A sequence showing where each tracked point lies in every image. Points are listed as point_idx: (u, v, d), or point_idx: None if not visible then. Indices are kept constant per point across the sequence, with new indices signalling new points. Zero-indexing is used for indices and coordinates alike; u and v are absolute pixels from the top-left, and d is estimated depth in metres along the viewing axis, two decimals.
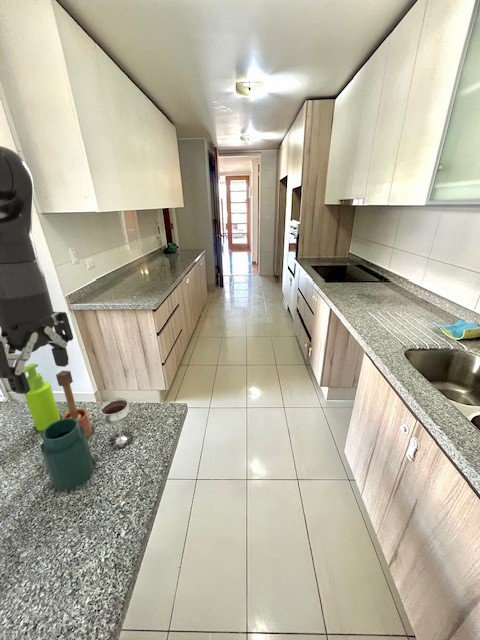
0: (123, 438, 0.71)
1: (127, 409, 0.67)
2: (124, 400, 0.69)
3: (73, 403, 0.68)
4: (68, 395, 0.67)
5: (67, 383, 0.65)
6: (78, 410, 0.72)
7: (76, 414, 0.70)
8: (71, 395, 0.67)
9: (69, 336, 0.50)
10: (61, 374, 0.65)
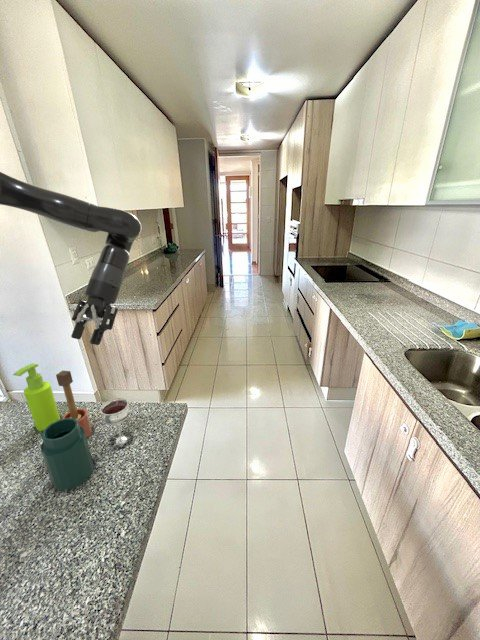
0: (123, 438, 0.71)
1: (127, 409, 0.67)
2: (124, 400, 0.69)
3: (73, 403, 0.68)
4: (68, 395, 0.67)
5: (67, 383, 0.65)
6: (78, 410, 0.72)
7: (76, 414, 0.70)
8: (71, 395, 0.67)
9: None
10: (61, 374, 0.65)
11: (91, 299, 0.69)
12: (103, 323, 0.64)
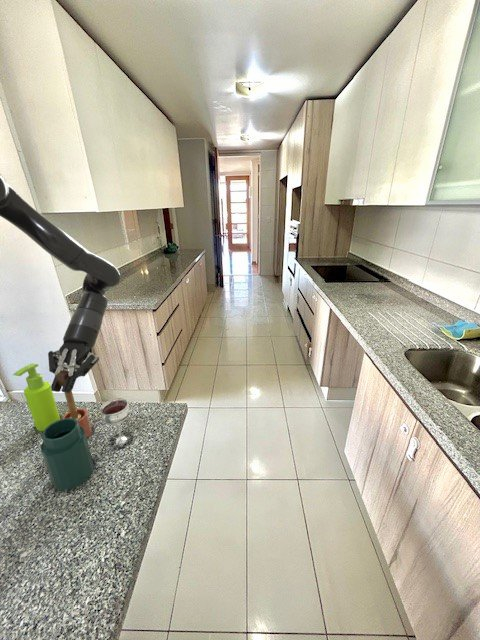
0: (123, 438, 0.71)
1: (127, 409, 0.67)
2: (124, 400, 0.69)
3: (73, 403, 0.68)
4: (68, 395, 0.67)
5: None
6: (78, 410, 0.72)
7: (76, 414, 0.70)
8: (71, 395, 0.67)
9: None
10: (61, 374, 0.65)
11: (69, 344, 0.69)
12: (79, 371, 0.65)
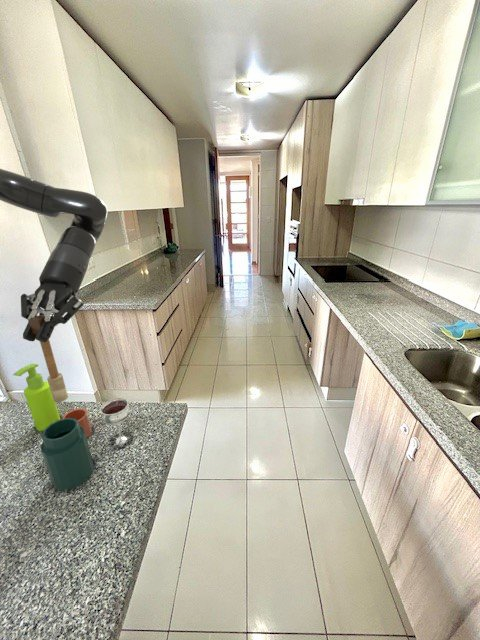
0: (123, 438, 0.71)
1: (127, 409, 0.67)
2: (124, 400, 0.69)
3: (52, 358, 0.56)
4: (45, 347, 0.54)
5: None
6: (78, 410, 0.72)
7: (56, 372, 0.57)
8: (49, 347, 0.55)
9: None
10: (35, 318, 0.52)
11: (46, 285, 0.56)
12: (58, 315, 0.53)
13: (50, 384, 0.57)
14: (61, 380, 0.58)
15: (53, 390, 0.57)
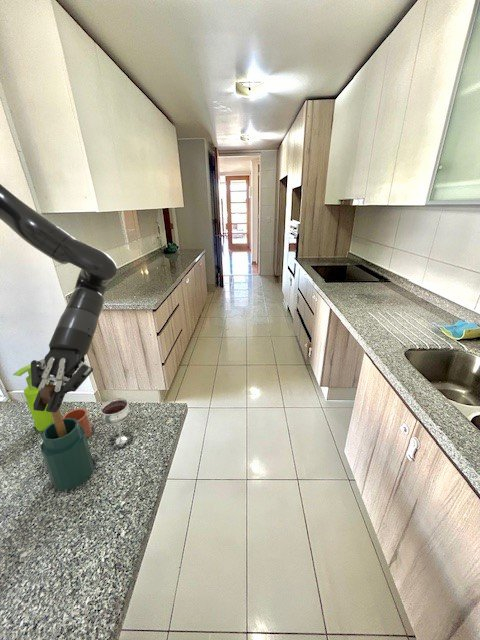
0: (123, 438, 0.71)
1: (127, 409, 0.67)
2: (124, 400, 0.69)
3: (61, 424, 0.56)
4: (55, 415, 0.54)
5: None
6: (78, 410, 0.72)
7: None
8: (59, 415, 0.55)
9: None
10: (46, 389, 0.52)
11: (56, 351, 0.56)
12: (68, 385, 0.53)
13: None
14: None
15: None
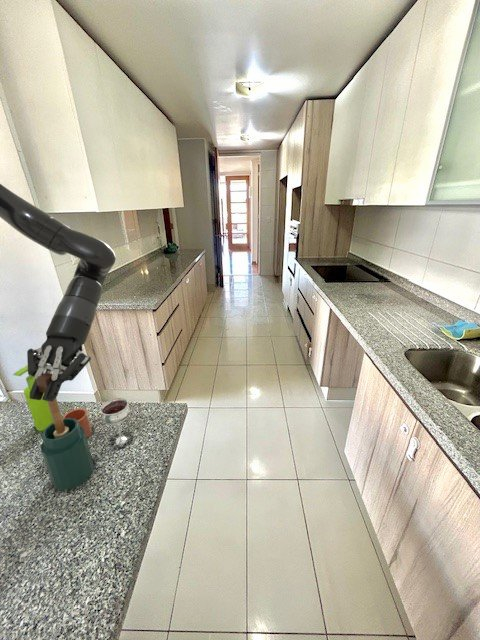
0: (123, 438, 0.71)
1: (127, 409, 0.67)
2: (124, 400, 0.69)
3: (58, 414, 0.55)
4: (52, 404, 0.53)
5: None
6: (78, 410, 0.72)
7: (62, 427, 0.56)
8: (56, 404, 0.54)
9: None
10: (42, 378, 0.51)
11: (53, 340, 0.55)
12: (65, 374, 0.52)
13: None
14: None
15: None
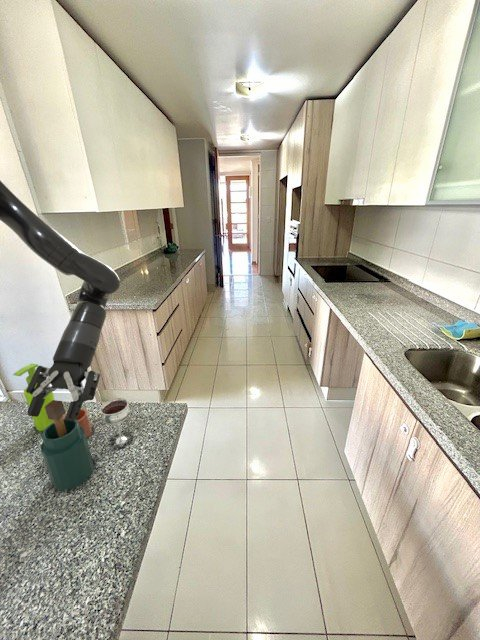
0: (123, 438, 0.71)
1: (127, 409, 0.67)
2: (124, 400, 0.69)
3: None
4: (60, 429, 0.56)
5: (58, 416, 0.54)
6: None
7: None
8: (63, 429, 0.56)
9: None
10: (51, 405, 0.54)
11: (60, 364, 0.57)
12: (86, 393, 0.54)
13: None
14: None
15: None
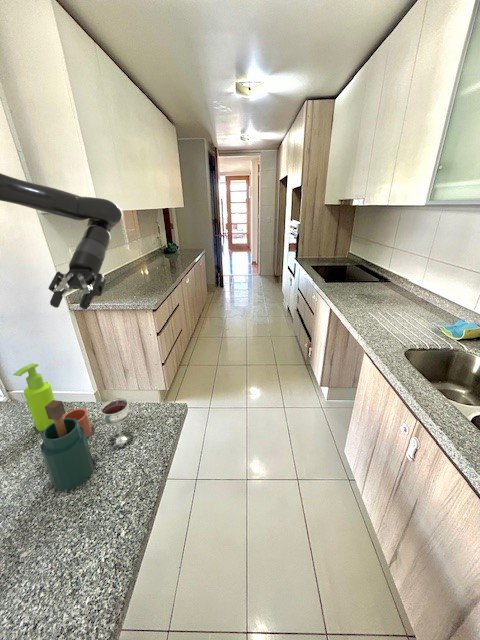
0: (123, 438, 0.71)
1: (127, 409, 0.67)
2: (124, 400, 0.69)
3: None
4: (60, 429, 0.56)
5: (58, 416, 0.54)
6: (78, 410, 0.72)
7: None
8: (63, 429, 0.56)
9: None
10: (51, 405, 0.54)
11: (74, 270, 0.73)
12: (95, 288, 0.70)
13: None
14: None
15: None
